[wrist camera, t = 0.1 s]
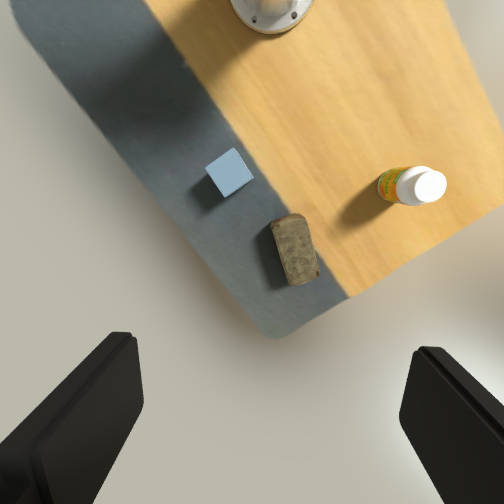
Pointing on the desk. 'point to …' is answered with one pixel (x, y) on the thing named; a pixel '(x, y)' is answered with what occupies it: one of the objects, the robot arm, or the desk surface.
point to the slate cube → (229, 172)
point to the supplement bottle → (411, 185)
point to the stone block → (295, 248)
